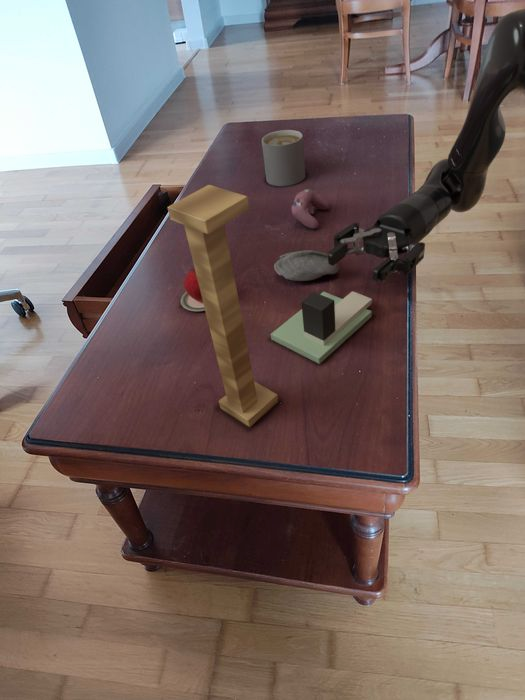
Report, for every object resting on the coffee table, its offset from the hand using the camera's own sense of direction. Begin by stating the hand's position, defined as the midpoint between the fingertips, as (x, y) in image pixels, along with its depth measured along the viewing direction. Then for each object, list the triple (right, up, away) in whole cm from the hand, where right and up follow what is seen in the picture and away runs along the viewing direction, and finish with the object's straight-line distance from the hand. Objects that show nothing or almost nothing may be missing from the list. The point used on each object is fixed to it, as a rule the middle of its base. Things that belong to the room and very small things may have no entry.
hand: (352, 268), depth 80 cm
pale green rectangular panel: (-4, -9, +4) cm, 11 cm away
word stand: (-16, -21, -6) cm, 27 cm away
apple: (-25, -4, +14) cm, 29 cm away
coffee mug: (-8, +32, +51) cm, 61 cm away
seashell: (-6, +1, +17) cm, 18 cm away
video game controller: (-4, +16, +32) cm, 36 cm away
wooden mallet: (-2, -8, +3) cm, 9 cm away
